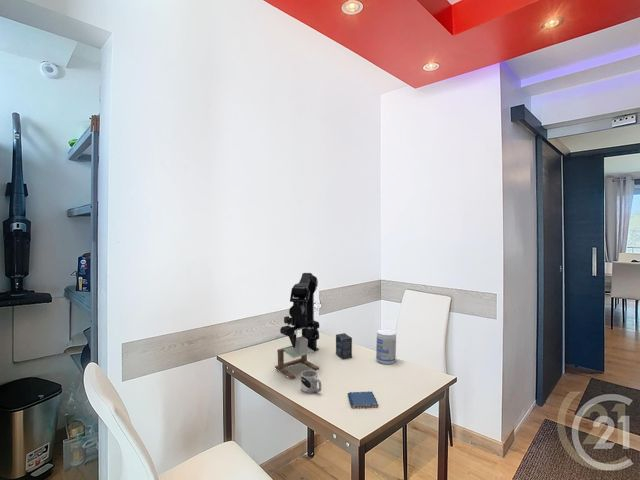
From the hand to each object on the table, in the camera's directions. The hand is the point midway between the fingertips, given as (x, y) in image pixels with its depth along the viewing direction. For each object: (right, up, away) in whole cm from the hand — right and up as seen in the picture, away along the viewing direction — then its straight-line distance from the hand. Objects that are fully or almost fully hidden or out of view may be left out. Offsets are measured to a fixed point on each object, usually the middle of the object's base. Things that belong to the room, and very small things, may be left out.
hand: (300, 345), depth 153 cm
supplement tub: (+42, -12, +12) cm, 45 cm away
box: (+21, -11, +19) cm, 31 cm away
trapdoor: (-1, -3, +2) cm, 4 cm away
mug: (+6, -13, -18) cm, 23 cm away
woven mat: (+26, -14, -26) cm, 39 cm away
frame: (-2, -12, +3) cm, 12 cm away
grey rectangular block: (0, -3, 0) cm, 3 cm away
